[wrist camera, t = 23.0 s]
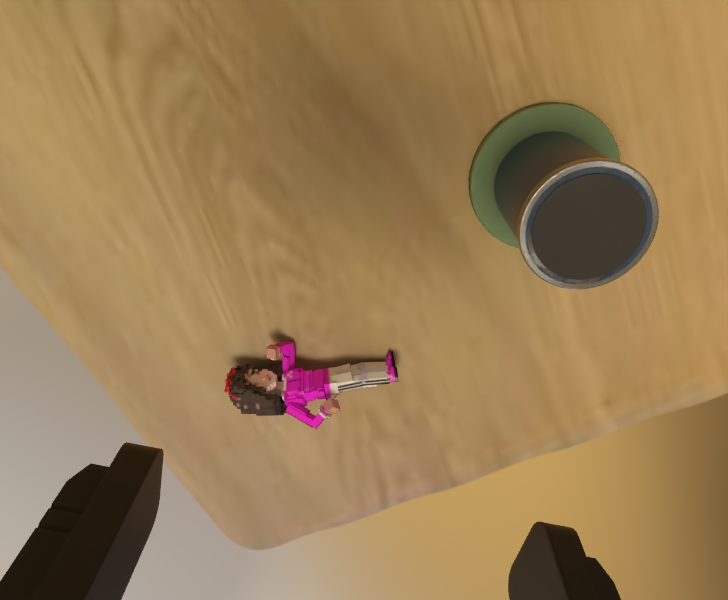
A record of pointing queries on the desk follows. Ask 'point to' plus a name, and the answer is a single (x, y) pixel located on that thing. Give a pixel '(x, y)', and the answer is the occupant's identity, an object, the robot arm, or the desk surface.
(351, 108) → the desk surface
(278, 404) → the character figurine
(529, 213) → the blue metal can
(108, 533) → the robot arm
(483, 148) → the mat
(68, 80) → the desk surface
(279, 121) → the desk surface
